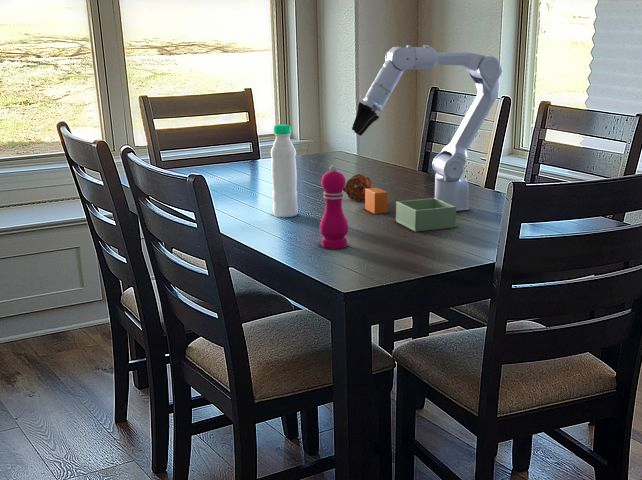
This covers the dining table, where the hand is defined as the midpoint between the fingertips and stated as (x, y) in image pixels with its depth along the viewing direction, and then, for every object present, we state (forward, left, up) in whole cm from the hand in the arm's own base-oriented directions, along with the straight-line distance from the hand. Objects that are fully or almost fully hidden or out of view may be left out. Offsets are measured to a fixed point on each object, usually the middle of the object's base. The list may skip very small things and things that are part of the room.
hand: (356, 132), depth 234 cm
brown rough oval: (-9, -19, -23) cm, 31 cm away
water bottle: (+18, -8, -23) cm, 31 cm away
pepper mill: (+17, +28, -23) cm, 40 cm away
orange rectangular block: (-8, -3, -23) cm, 24 cm away
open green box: (-14, +17, -23) cm, 32 cm away
